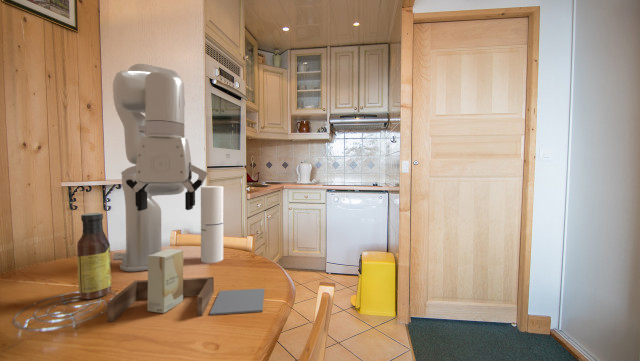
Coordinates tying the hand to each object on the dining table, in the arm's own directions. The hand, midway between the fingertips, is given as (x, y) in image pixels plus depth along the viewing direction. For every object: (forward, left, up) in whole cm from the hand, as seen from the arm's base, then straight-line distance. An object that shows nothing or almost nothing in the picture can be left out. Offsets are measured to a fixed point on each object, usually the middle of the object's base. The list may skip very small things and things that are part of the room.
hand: (166, 209), depth 61 cm
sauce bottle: (-19, +8, -22) cm, 30 cm away
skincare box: (0, 0, -22) cm, 22 cm away
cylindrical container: (+3, +32, -22) cm, 39 cm away
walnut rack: (0, 0, -22) cm, 22 cm away
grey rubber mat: (+16, 0, -22) cm, 27 cm away
